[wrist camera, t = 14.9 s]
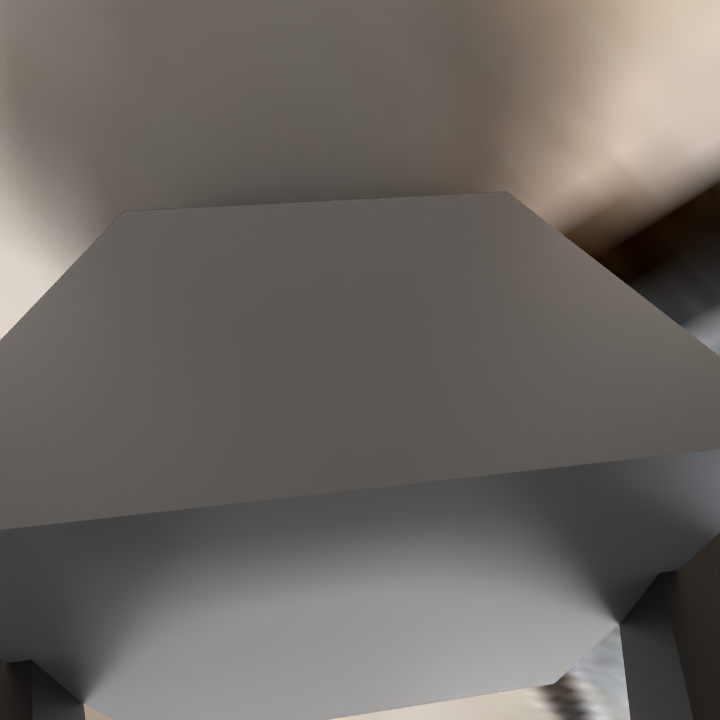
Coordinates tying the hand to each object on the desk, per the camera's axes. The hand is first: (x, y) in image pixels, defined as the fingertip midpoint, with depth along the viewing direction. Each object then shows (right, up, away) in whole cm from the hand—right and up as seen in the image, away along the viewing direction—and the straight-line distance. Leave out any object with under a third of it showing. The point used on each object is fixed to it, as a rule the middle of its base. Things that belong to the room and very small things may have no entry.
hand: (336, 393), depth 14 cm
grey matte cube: (0, +1, 0) cm, 2 cm away
